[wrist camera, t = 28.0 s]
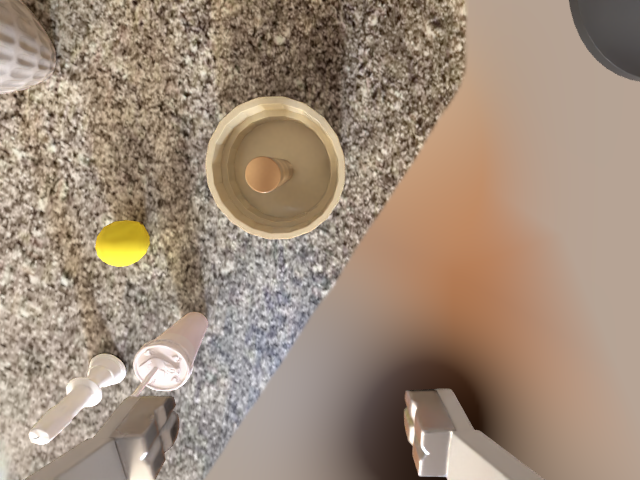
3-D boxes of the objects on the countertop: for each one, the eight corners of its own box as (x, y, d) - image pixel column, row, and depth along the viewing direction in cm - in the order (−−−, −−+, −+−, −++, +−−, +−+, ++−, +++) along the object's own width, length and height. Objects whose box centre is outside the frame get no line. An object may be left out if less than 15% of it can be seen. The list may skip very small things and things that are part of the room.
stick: (293, 158, 36) (279, 155, 23) (294, 182, 37) (281, 192, 23) (270, 159, 36) (243, 156, 23) (271, 182, 37) (246, 193, 23)
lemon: (135, 268, 40) (109, 283, 35) (103, 240, 39) (71, 251, 34) (169, 234, 39) (147, 245, 34) (137, 204, 38) (109, 211, 33)
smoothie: (173, 300, 41) (103, 366, 28) (218, 305, 42) (172, 374, 28) (172, 340, 43) (106, 421, 29) (216, 345, 43) (171, 427, 30)
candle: (82, 362, 44) (-2, 433, 32) (112, 347, 43) (36, 415, 31) (104, 388, 45) (31, 467, 33) (133, 375, 44) (69, 449, 33)
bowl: (338, 107, 35) (344, 93, 29) (340, 224, 39) (345, 236, 32) (219, 111, 35) (196, 98, 29) (232, 228, 39) (214, 241, 32)
